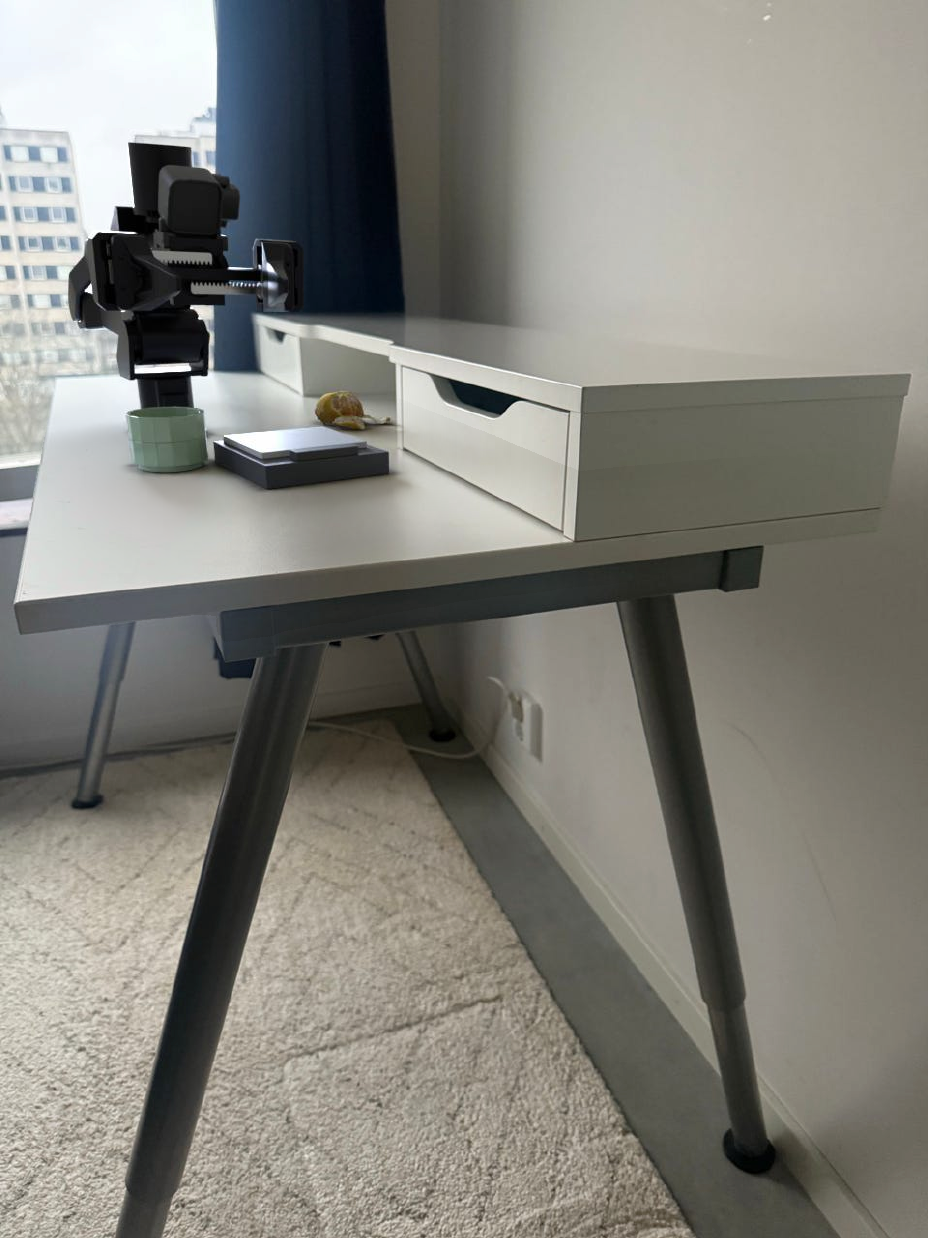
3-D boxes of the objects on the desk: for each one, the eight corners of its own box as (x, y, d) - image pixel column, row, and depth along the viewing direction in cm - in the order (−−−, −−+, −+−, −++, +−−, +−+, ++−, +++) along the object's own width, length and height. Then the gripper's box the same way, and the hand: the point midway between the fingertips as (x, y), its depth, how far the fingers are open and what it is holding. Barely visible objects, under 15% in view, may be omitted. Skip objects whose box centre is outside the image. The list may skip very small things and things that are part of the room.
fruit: (350, 431, 99) (349, 399, 98) (298, 424, 103) (296, 392, 102) (395, 422, 105) (395, 391, 104) (344, 415, 110) (343, 386, 108)
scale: (214, 462, 83) (211, 432, 82) (327, 449, 89) (326, 422, 88) (266, 489, 73) (264, 456, 72) (389, 473, 79) (389, 442, 78)
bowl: (125, 463, 82) (117, 409, 80) (195, 455, 86) (190, 404, 84) (145, 476, 77) (137, 420, 75) (219, 468, 81) (213, 414, 79)
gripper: (63, 161, 74) (106, 165, 63) (268, 179, 84) (338, 185, 73) (78, 297, 79) (120, 324, 68) (270, 300, 89) (336, 323, 78)
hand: (234, 285), depth 71 cm, fingers open, 9 cm apart
